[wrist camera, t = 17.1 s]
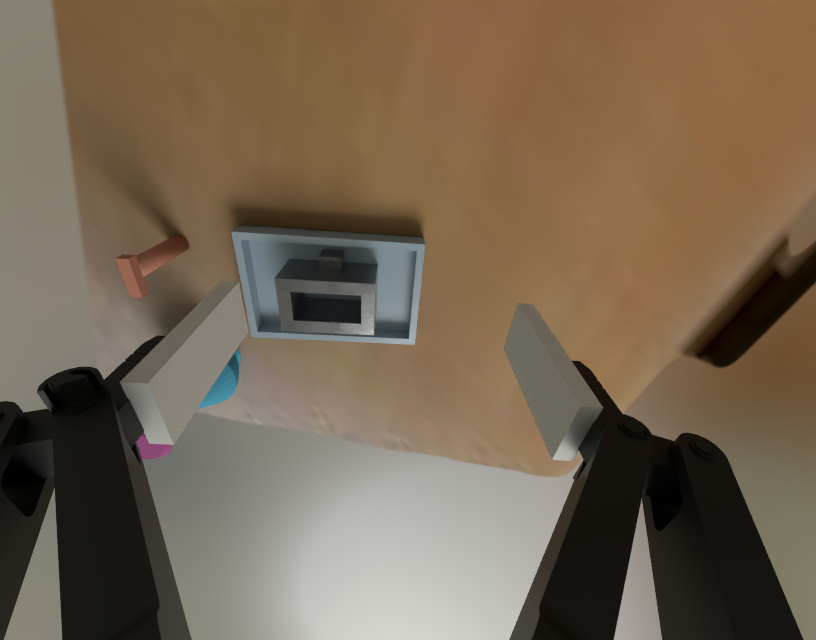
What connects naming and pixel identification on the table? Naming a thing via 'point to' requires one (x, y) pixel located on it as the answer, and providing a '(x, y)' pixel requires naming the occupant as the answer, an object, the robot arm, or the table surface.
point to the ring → (327, 279)
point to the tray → (396, 294)
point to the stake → (148, 264)
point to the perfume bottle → (216, 394)
